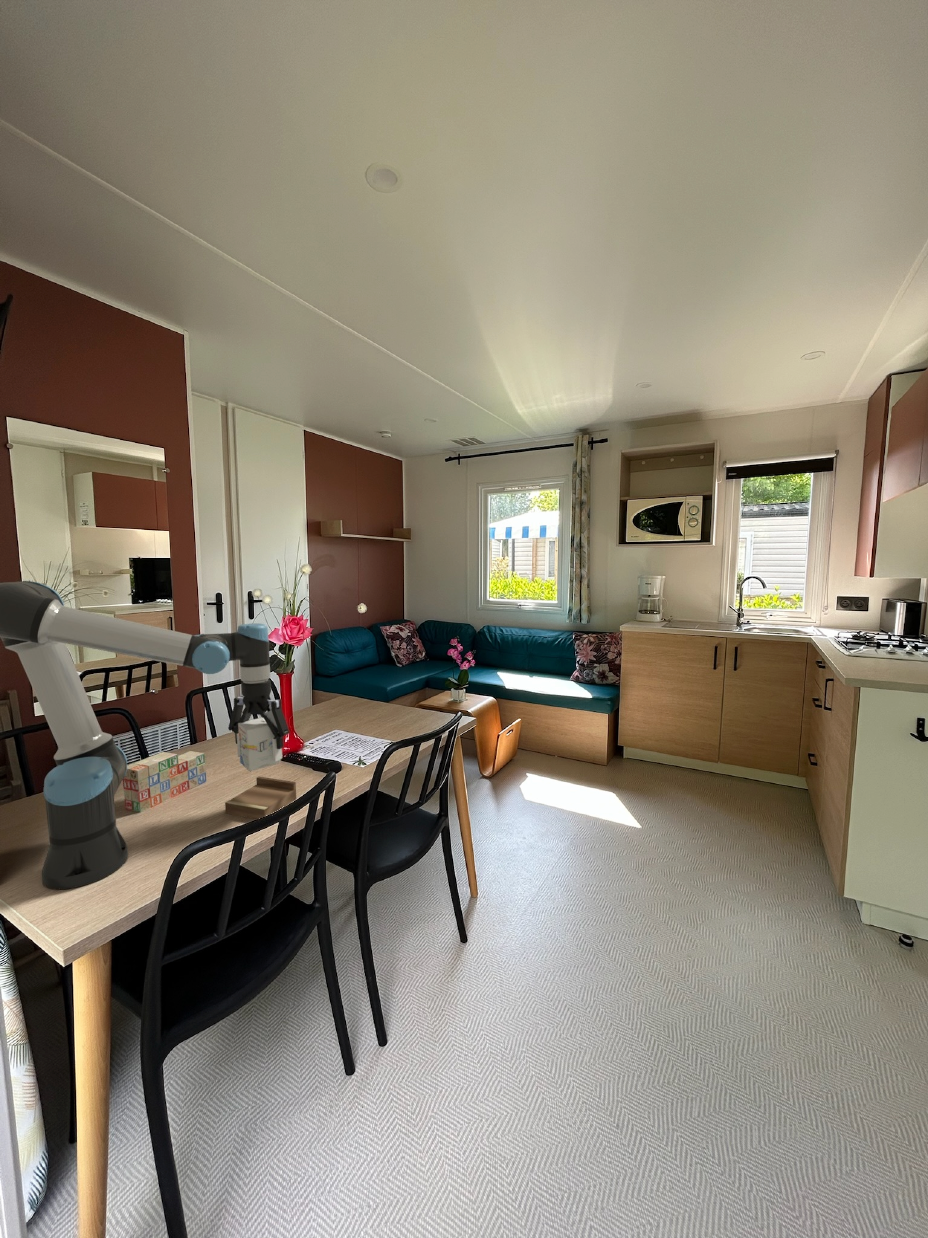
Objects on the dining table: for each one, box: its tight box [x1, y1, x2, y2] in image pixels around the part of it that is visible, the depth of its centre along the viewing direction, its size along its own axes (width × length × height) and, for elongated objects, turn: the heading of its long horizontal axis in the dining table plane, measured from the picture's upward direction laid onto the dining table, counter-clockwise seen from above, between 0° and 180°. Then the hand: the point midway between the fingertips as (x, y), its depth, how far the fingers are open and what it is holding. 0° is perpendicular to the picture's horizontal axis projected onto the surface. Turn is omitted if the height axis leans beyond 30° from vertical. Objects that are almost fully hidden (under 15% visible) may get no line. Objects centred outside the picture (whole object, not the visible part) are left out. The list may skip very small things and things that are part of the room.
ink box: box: [238, 717, 281, 772], centre depth 135 cm, size 9×8×12 cm
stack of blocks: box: [122, 750, 207, 813], centre depth 143 cm, size 21×6×12 cm, turn 159°
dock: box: [224, 776, 297, 820], centre depth 136 cm, size 13×13×5 cm
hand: (260, 757), depth 135 cm, fingers closed on ink box, 11 cm apart
